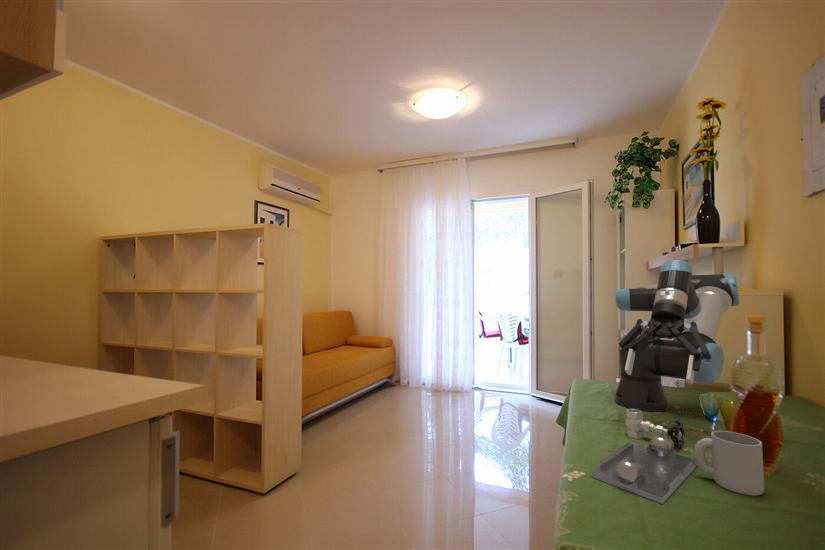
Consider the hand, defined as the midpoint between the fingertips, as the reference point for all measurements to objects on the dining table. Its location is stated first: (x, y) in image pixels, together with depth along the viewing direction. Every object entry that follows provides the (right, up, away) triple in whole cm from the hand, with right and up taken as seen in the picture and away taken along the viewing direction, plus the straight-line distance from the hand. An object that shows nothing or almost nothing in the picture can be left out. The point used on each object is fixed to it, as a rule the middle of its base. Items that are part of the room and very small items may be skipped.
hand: (656, 377), depth 92 cm
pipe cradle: (-15, -14, -18) cm, 27 cm away
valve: (-3, -15, -3) cm, 16 cm away
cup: (-2, -14, -23) cm, 27 cm away
